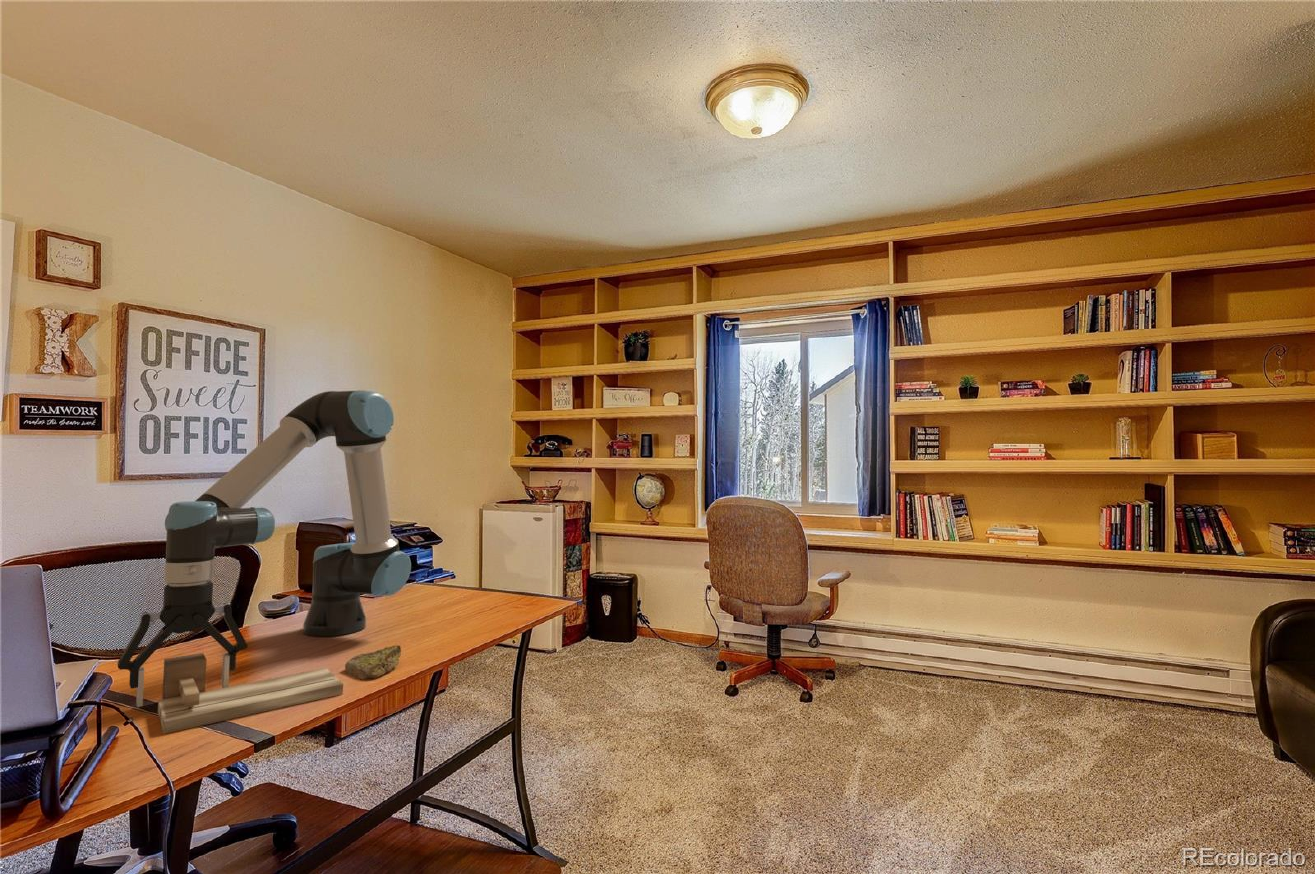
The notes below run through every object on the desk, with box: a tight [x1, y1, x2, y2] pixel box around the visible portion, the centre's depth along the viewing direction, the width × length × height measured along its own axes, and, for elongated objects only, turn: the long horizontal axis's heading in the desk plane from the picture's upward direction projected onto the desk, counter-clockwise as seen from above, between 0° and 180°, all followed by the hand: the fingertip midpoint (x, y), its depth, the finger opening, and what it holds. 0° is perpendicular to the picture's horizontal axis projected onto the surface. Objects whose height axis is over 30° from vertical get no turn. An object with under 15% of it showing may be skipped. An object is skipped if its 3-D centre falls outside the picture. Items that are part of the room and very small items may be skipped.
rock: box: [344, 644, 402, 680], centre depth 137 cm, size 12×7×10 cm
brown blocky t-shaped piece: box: [161, 652, 207, 708], centre depth 114 cm, size 15×6×8 cm, turn 43°
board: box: [157, 667, 344, 735], centre depth 118 cm, size 12×28×2 cm, turn 133°
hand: (183, 696), depth 118 cm, fingers open, 12 cm apart
